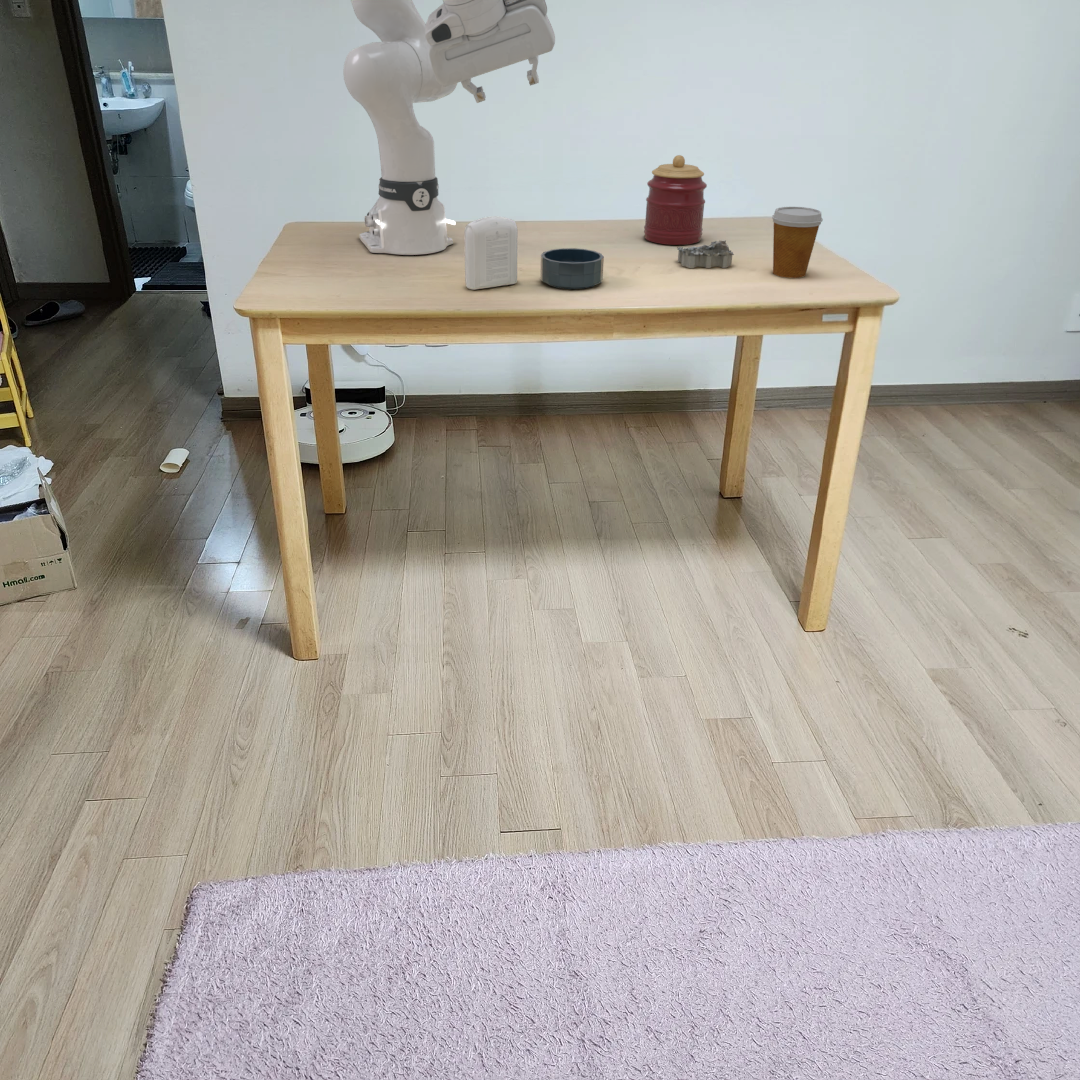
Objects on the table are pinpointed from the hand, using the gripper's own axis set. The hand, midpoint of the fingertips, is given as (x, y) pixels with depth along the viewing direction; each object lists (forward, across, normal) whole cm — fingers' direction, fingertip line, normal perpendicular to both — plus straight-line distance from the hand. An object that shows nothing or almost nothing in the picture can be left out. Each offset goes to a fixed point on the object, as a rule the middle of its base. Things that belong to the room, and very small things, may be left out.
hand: (507, 91), depth 155 cm
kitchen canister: (+57, -17, -28) cm, 66 cm away
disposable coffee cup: (+53, -40, -1) cm, 66 cm away
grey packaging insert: (+50, -24, -7) cm, 56 cm away
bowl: (+35, 0, +7) cm, 36 cm away
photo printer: (+29, +14, +10) cm, 34 cm away
